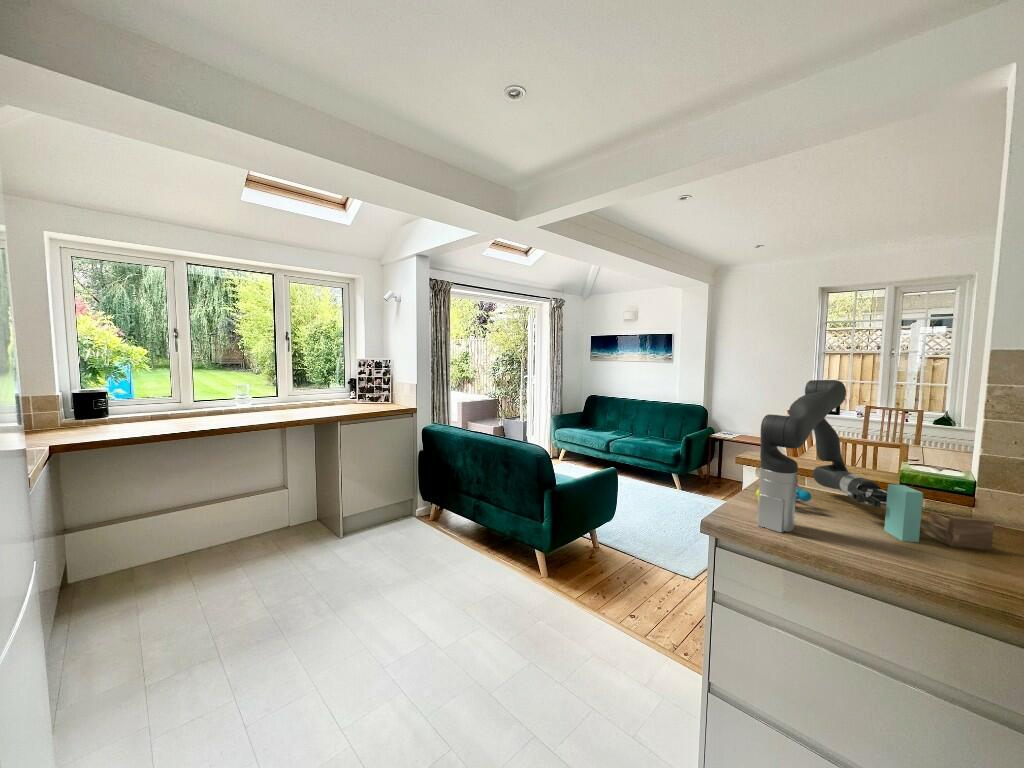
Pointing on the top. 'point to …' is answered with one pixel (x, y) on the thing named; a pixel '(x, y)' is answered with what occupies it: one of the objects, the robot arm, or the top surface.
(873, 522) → the top surface
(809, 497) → the molecular model
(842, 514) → the top surface
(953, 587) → the top surface
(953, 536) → the brown wooden drawer
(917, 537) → the teal rectangular block
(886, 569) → the top surface
